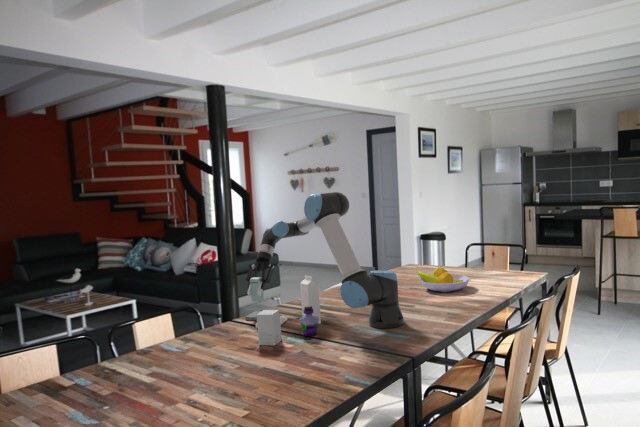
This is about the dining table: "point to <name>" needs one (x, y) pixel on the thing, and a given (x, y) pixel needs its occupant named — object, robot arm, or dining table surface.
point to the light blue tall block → (256, 289)
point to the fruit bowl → (443, 280)
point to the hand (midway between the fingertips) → (253, 294)
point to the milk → (310, 296)
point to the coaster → (252, 315)
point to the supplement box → (269, 327)
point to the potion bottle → (309, 322)
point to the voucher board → (282, 319)
